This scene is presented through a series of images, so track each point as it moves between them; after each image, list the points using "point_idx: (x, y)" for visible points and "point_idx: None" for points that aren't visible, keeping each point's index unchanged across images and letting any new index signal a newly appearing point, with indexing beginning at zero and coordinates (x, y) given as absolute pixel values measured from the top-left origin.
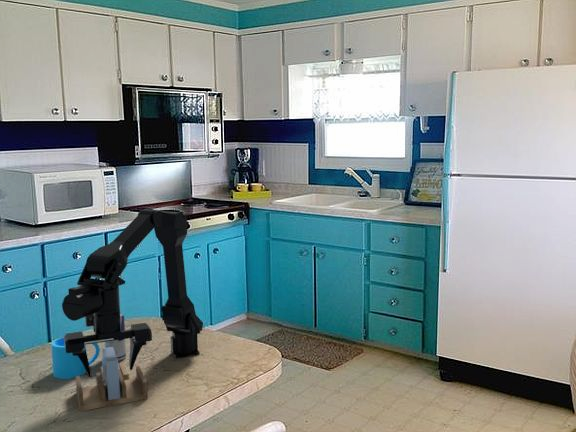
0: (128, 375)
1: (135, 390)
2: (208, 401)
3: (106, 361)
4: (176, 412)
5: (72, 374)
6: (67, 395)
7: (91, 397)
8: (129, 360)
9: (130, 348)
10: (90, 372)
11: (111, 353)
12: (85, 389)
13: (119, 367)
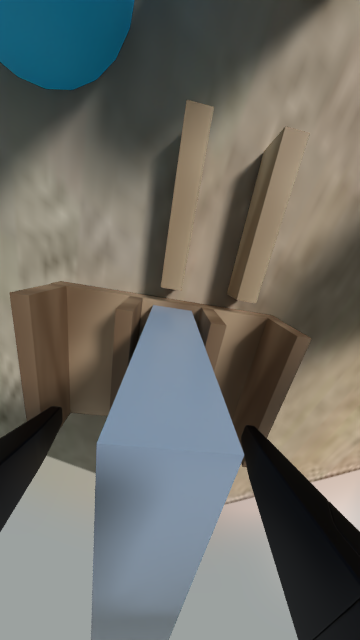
0: (252, 301)
1: (223, 395)
2: (323, 477)
3: (93, 638)
4: (251, 486)
5: (36, 71)
6: (30, 284)
7: (97, 375)
8: (268, 463)
9: (344, 585)
10: (45, 456)
11: (163, 574)
12: (85, 310)
13: (270, 153)
